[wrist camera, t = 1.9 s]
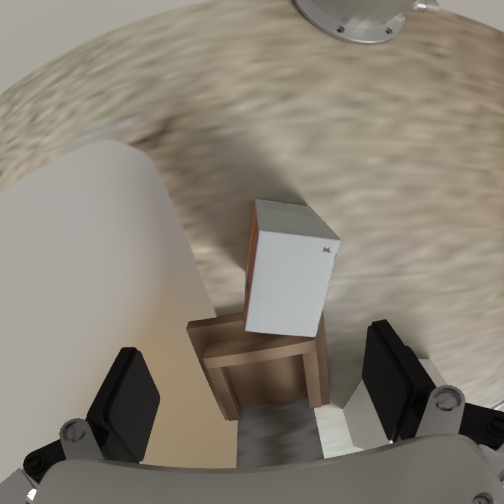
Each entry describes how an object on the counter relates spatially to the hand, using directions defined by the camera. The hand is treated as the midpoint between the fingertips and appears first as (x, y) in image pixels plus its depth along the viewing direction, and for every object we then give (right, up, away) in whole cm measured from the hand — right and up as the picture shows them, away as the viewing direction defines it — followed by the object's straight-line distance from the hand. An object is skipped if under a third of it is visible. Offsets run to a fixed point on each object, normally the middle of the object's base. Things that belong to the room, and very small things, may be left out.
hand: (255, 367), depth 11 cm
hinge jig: (+2, -10, +24) cm, 26 cm away
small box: (+2, +6, +19) cm, 20 cm away
